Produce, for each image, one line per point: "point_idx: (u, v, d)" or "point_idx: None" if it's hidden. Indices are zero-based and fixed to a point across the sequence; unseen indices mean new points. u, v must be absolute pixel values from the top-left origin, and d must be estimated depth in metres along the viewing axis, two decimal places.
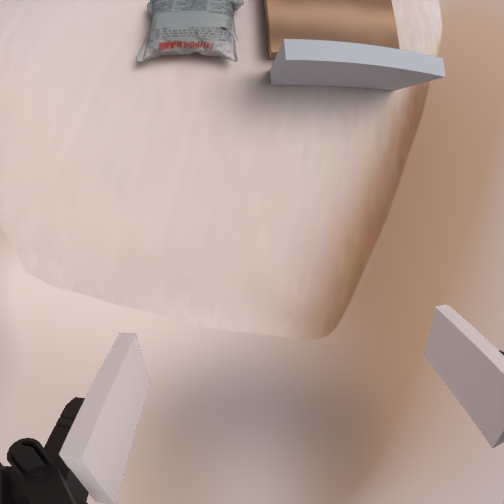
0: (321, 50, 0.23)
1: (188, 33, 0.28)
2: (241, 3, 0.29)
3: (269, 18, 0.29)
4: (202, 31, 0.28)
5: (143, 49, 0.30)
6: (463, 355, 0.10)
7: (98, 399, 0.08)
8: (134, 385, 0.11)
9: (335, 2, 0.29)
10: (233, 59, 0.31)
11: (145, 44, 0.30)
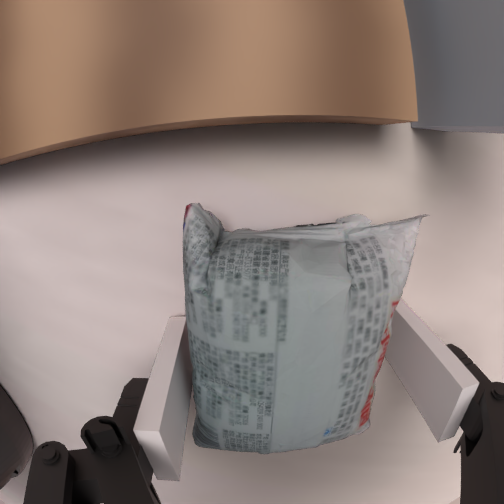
0: None
1: (358, 381, 0.10)
2: (198, 211, 0.10)
3: (285, 111, 0.09)
4: (360, 347, 0.10)
5: None
6: (410, 347, 0.11)
7: (163, 376, 0.10)
8: (186, 365, 0.12)
9: None
10: (418, 224, 0.11)
11: None
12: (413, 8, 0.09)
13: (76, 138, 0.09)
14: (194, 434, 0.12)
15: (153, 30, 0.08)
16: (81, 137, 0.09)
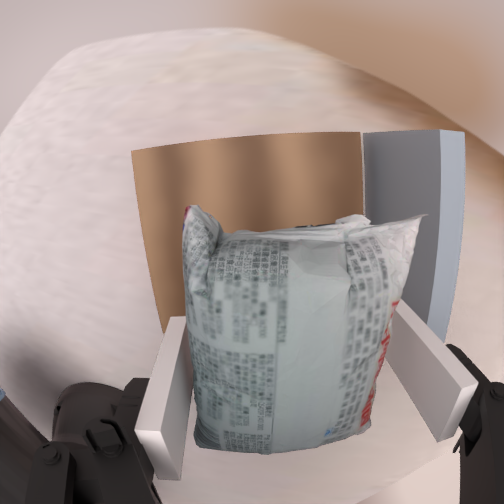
0: (437, 328, 0.19)
1: (358, 381, 0.10)
2: (198, 212, 0.10)
3: None
4: (360, 347, 0.10)
5: None
6: (409, 347, 0.11)
7: (165, 375, 0.10)
8: (187, 365, 0.12)
9: None
10: (417, 224, 0.11)
11: None
12: None
13: None
14: (195, 435, 0.12)
15: None
16: None
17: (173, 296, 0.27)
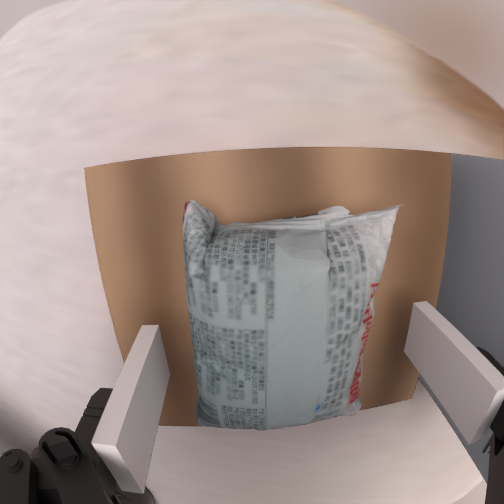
0: None
1: (343, 357, 0.12)
2: (196, 207, 0.12)
3: None
4: (342, 324, 0.11)
5: None
6: (439, 351, 0.11)
7: (127, 388, 0.09)
8: (157, 375, 0.12)
9: None
10: (394, 213, 0.12)
11: None
12: None
13: None
14: (196, 413, 0.14)
15: None
16: None
17: None
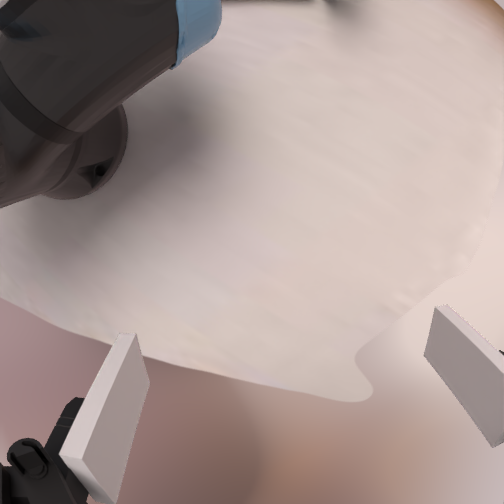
0: None
1: None
2: None
3: None
4: None
5: None
6: (463, 355, 0.10)
7: (98, 399, 0.08)
8: (134, 385, 0.11)
9: None
10: None
11: None
12: None
13: None
14: None
15: None
16: None
17: None
